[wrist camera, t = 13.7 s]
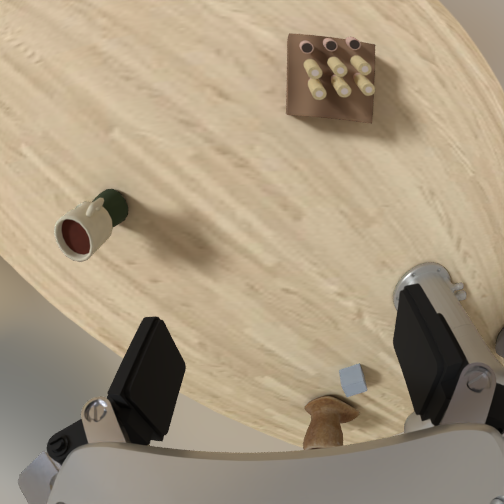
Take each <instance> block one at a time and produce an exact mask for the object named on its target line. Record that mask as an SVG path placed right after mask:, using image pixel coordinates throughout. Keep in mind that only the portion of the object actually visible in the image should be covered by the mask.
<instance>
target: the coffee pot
mask: <svg viewBox="0 0 504 504" xmlns="http://www.w3.org/2000/svg"><path fill="white" fill-rule="evenodd" d="M495 349H496V353H497V354H498V355H500V356H502V357H503V358H504V328H503V329H502V330H501V332H500V333H499V335H498V337H497V341H496V346H495Z"/></svg>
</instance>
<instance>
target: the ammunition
mask: <svg viewBox="0 0 504 504" xmlns="http://www.w3.org/2000/svg"><path fill="white" fill-rule="evenodd" d="M346 44H347V45H348V46H349V47H350V48H351V49H353V50H357V49H359V48H360V46H361V44H360V42H359V40H357V39H356V38H354V37H347V38H346ZM323 45H324V47H325V48H326V49H327V50H328V51H335V50H336V49H337V43H336V42H335V41H334V40H333V39H330V38H325V39H324V40H323ZM299 47H300V49H301V50H302V52H304V53H307V54H308V53H311V52H312V51H313V49H314V48H313V45H312V44H311V43H310V42H309V41H306V40H305V41H302V42H301V43H300V45H299ZM350 62H351V64H352V65H353V66H354V68H355V69H356V70H357V71H358V72H359V73H355V74H354V76H353V78H354V82H355V83H356V85H357V86H358V87H359V89H360V90H361V91H362V92H363V94H364V95H367V96H370V95H373V94H374V92H375V86H374V85H373V84H372V83H371V82H370V81H369V80H368V79H367V78H366V77H365V76H364V75H368V74H370V73H371V70H372V68H371V66H370V65H369V64H368V63H367V62H366V61H365V60H364V59H363V58H361V57H360V56H358V55H355V56H353V57H352V58H351V60H350ZM327 64H328V66H329V67H330V68H331V70H332V71H333V73H334V75H332V77H331V83H332V85H333V87H334V88H335V90H336V91H337V93H338V95H339V96H341V97H348V96H349V95H350V94H351V88H350V87H349V85H348V84H347V83H346V81H345V80H344V79H343V78H342V77H343V76H345V75H346V74H347V71H348V70H347V67H346V66H345V65H344V64H343V63H342V62H341V61H340V60H339V59H338V58H337V57H330V58H329V59H328V61H327ZM304 68H305V70H306V72H307V74H308V76H309V77H310V79H309V81H308V87H309V89H310V91H311V94H312V96H313V98H314V99H316V100H322V99H324V98H325V97H326V94H327V93H326V90H325V88H324V87H323V85H322V83H321V82H320V80H319V78H320V77H321V76H322V70H321V68H320V67H319V65H318V64H317V63H316V61H315V60H313V59H307V60H306V61H305V62H304Z"/></svg>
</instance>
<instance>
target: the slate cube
mask: <svg viewBox="0 0 504 504" xmlns="http://www.w3.org/2000/svg"><path fill="white" fill-rule="evenodd" d="M339 373H340V379H341V385H342V388H343V390H344V392H345V394H346V396H347V397H349V396H352V395H356V394H359V393H362V392H365V391H367V386H366V382H365V378H364V374H363V371H362V368H361V366H360V363H359V364H356V365H353V366H351V367H348V368H344V369H341V370H339Z"/></svg>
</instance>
